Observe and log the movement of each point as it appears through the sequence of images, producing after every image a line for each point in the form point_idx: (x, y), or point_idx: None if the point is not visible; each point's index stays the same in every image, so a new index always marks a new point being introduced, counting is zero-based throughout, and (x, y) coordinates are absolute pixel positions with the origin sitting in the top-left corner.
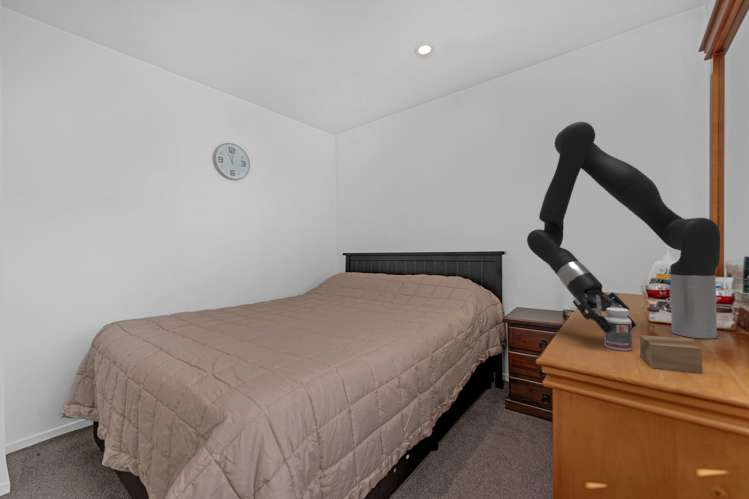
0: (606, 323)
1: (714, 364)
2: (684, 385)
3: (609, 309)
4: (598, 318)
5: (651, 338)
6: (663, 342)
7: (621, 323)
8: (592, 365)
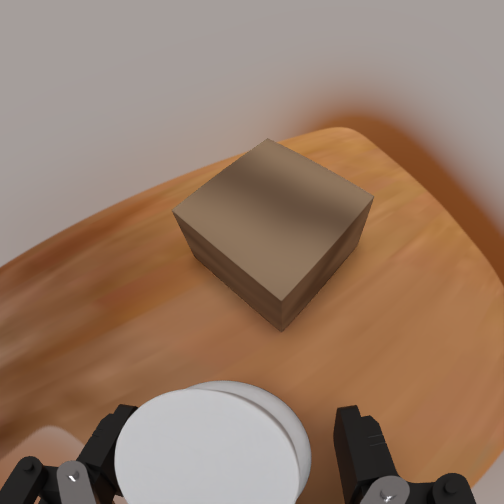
0: (366, 435)
1: (164, 216)
2: (381, 169)
3: (282, 501)
4: (395, 475)
5: (292, 244)
6: (307, 197)
7: (278, 398)
8: (486, 308)
